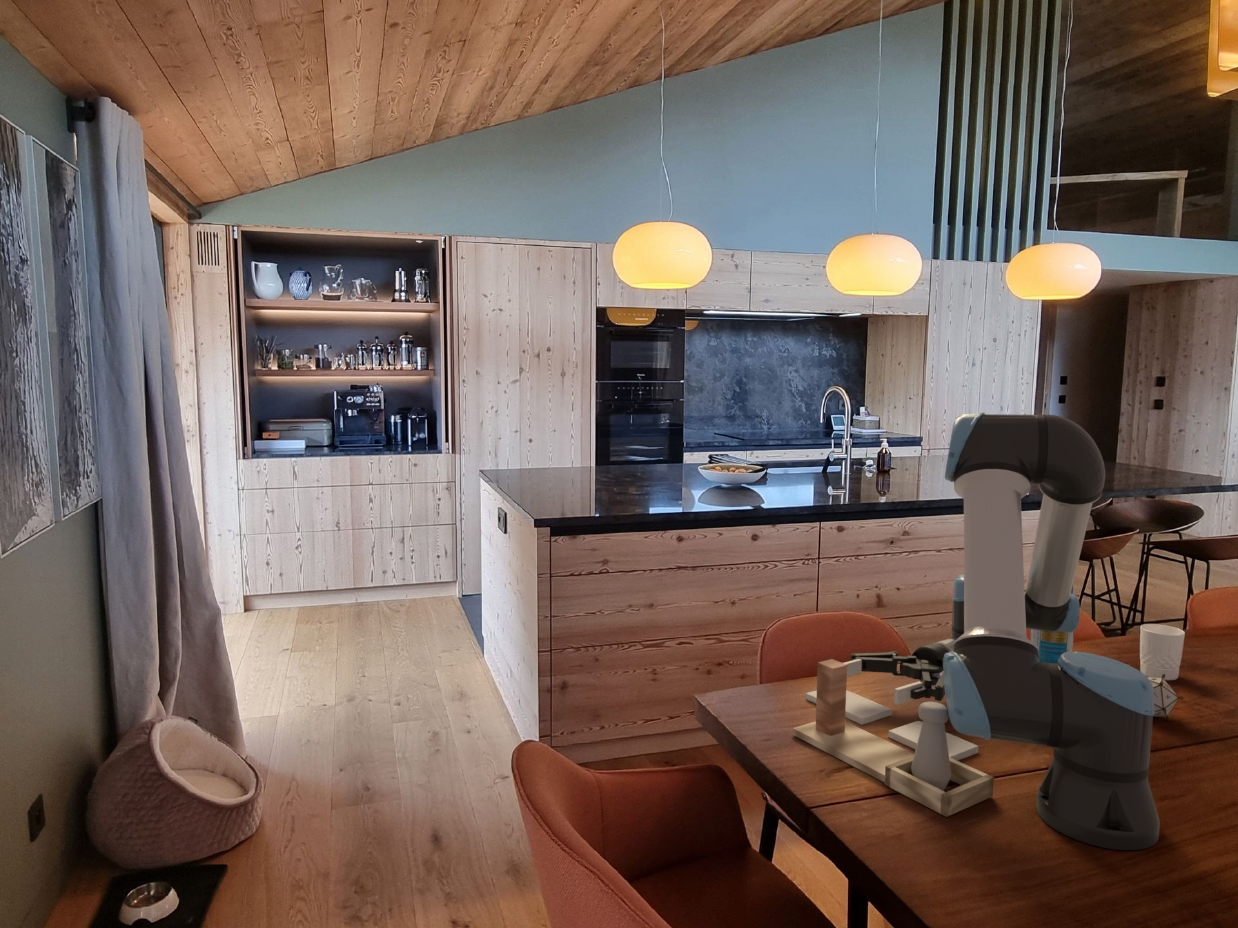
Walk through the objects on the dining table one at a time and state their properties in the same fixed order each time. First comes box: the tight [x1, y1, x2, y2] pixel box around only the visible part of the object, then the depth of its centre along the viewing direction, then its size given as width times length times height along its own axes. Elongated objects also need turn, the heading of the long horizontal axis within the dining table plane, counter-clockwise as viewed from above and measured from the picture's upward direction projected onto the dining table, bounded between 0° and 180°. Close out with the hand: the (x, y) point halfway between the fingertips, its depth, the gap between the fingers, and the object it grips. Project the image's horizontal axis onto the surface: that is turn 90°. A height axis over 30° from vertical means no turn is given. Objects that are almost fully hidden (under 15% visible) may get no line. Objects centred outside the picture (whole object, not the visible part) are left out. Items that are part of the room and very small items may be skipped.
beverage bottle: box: [1030, 585, 1075, 664], centre depth 177 cm, size 8×8×20 cm
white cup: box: [1139, 623, 1186, 681], centre depth 174 cm, size 8×8×10 cm
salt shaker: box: [911, 701, 951, 791], centre depth 126 cm, size 6×6×13 cm
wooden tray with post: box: [792, 658, 995, 818], centre depth 133 cm, size 32×11×13 cm, turn 32°
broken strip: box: [805, 689, 979, 761], centre depth 149 cm, size 32×8×1 cm, turn 32°
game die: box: [1147, 674, 1185, 722], centre depth 153 cm, size 9×8×10 cm
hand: (864, 684), depth 147 cm, fingers open, 13 cm apart
